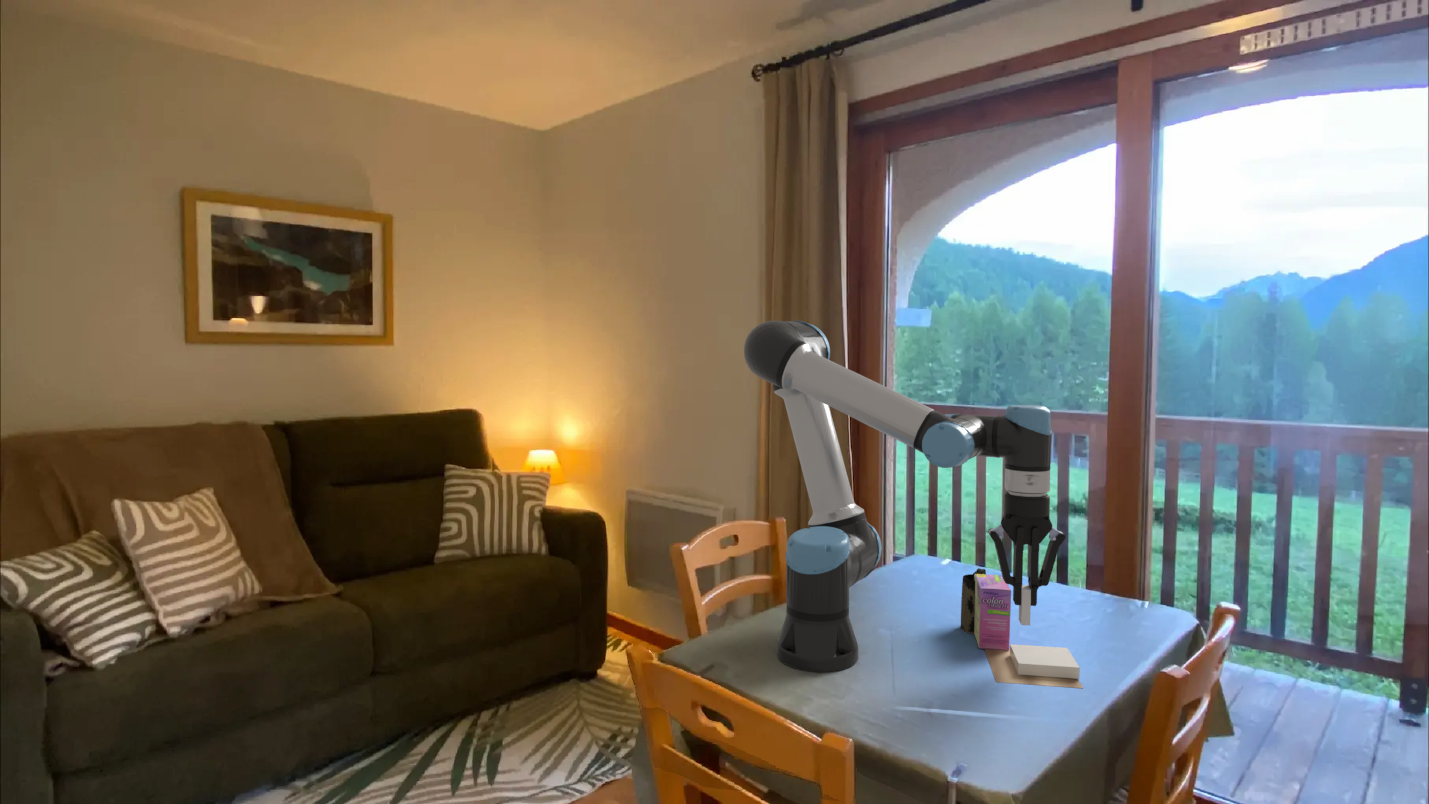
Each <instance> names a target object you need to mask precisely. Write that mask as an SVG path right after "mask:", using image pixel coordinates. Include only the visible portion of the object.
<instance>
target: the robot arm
mask: <svg viewBox="0 0 1429 804" xmlns="http://www.w3.org/2000/svg"><path fill="white" fill-rule="evenodd" d="M743 356H744V360H745V363H746V365H747V368H749V370H750V371H751V372H752V373H753V374H754V375H755V376H757V377H758V378H760V379H761V380H764V381H766V382H768V383H770V384H771V385H772V389H773V392H774V394H776V395H777V396H779V398H782V400H783V402H784V405H785V409H786V413H787V417H788V421H789V425H790V428H791V433H792V437H793V441H794V444H795V448H796V452H797V456H798V459H799V464H800V467H801V471H802V475H803V479H804V483H805V487H806V491H807V495H808V499H809V501H810V502H809V503H810V505H811V509H812V515H811V516H810V518H809V521H808V522H807V525H808V528H806V527H805V528H801V529H798V530H796V531H795V532H793V533H792V534H790V536H789V537H788V539H787V542H786V551H785V562H786V563H785V564H786V566H785V569H786V570H785V571H786V572H785V573H786V574H785V576H786V577H785V578H786V584H785V586H786V587H785V588H786V590H785V591H786V600H785V601H786V614H785V618H784V620H783V623H782V626H781V630H780V633H779V636H778V639H777V643H776V656H777V659H778V660H780V662H781V663H783V664H785V665H786V666H788V667H792V668H794V669H797V670H801V671H807V672H817V673H819V672H820V673H822V672H823V673H824V672H837V671H842V670H845V669H848V668H851V667H852V666H854V665H855V664H856V663H857V662H858V661H859V645H858V642H857V638H856V635H855V631H854V628H853V625H852V623H851V619H850V588H851V587H852V586H853V585H855V584H856V583H858V582H860V581H862V580H864V579H865V578H867V577H868V576H869V575H870V574H871V573H872V572H873V571H874V569H875V568H876V567H877V565H878V563H879V562H880V560H881V556H882V551H883V550H882V541H881V540H882V539H881V538H880V535H879V533H878V531H877V530H876V528H875V527H874V526H873V525H871V524H870V523H869V522H868V519H867V516H866V512H865V509H864V508H862V507H861V506H860V505H858V504H856V503H855V499H854V496H853V493H852V487H851V485H850V481H849V477H848V474H847V470H846V466H845V462H844V461H845V460H844V458H843V454H842V451H841V446H840V442H839V438H838V434H837V432H836V427H835V424H834V419H833V417H832V416H833V415H832V413H831V408H832V409H834V410H837V411H839V412H841V413H843V414H844V415H846V416H849V417H851V418H853V419H855V420H856V421H858V422H860V423H862V424H864V425H867V426H868V427H870V428H873V429H875V430H877V431H878V432H880V433H882V434H885V435H887V436H889V437H890V438H892V439H894V440H897V441H898V442H901V443H903V444H904V445H907V446H909V447H911V448H913V449H915V450H916V451H918V452H920V453H922V454H923V456H924V457H925V458H926V459H927V461H928V462H930V464H932V465H933V466H935V467H938V468H942V469H950V468H951V469H952V468H955V467H959V466H962V465H964V464H965V463H967V462H968V461H969V460H971V459H973V458H975V457H981V458H983V457H985V458H986V457H987V458H1004V462H1005V464H1004V468H1005V469H1004V489H1005V491H1006V492H1005V493H1004V498H1003V499H1004V500H1003V502H1004V503H1003V508H1004V509H1003V517H1002V519H1001V521H1000V524H999V525H998V526H996V527H995V528H992V527H991V528H989V529H988V530H987V533H988V535H989V536H990V538H991V540H992V541H993V543H994V547H995V551H996V552H995V553H996V557H997V560H998V563H999V564H998V565H999V569H1000V572H1001V576H1002V577H1003V579H1004V581H1005V583H1006V584H1008V585H1010V586H1012V589H1013V590H1012V601H1013V603H1014V605H1015V606H1018V621H1019V623H1020V624H1021V626H1031V608H1032V607H1037V604H1038V590H1039V588H1040V587H1043V586H1044V587H1046V586H1048V585H1049V583H1050V580H1051V577H1052V572H1053V570H1054V566H1055V562H1056V560H1057V555H1058V552H1059V548H1060V546H1061V545H1062V544H1063V543H1064V541H1065V540H1066V535H1065V533H1063V532H1062V531H1061V530H1058V529H1056V528H1054V527H1053V522H1052V521H1051V518H1050V511H1051V509H1050V508H1051V507H1050V506H1051V497H1050V495H1049V494H1047V493H1049V492H1050V491H1051V464H1052V462H1051V458H1052V437H1053V436H1052V435H1053V431H1052V416H1051V415H1052V414H1051V410H1050V409H1049V408H1048V407H1046V406H1043V405H1039V404H1038V405H1036V404H1034V405H1033V404H1032V405H1031V404H1014V405H1008V406H1007V407H1006V410H1005V413H1004V415H983V414H981V415H980V414H962V413H952V414H951V413H950V414H949V413H948V414H943V413H941V412H940V411H937V410H935V409H933V408H931V407H929V406H927V405H925V404H923V403H920V402H919V401H917V400H914V399H912V398H910V397H908V396H906V395H905V394H904V395H903V394H901V393H900V392H898V391H895V390H893V389H891V388H889V387H888V386H885V385H883V384H881V383H879V382H876V381H874V380H873V379H870V378H869V377H866V376H865V375H862V374H860V373H857V372H856V371H853V370H851V369H849V368H847V367H845V366H843V365H841V364H838V363H837V362H835V361H832V360H830V357H831V347H830V342H829V341H828V338H827V337H826V335H825V334H824V332H823V331H822V330H821V329H820V328H819V327H817V326H815V325H813V324H811V323H808V322H805V321H803V320H791V321H790V320H786V321H785V320H766V321H765V322H761V323H760V324H757V325H756V326H755V327H754V328H753V329H751V330H750V332H749V333H748V335H747V336H746V338H745V341H744V345H743ZM1004 532H1005V533H1006V534H1007V536H1008V538H1009V539H1010V540H1011V541H1012V546H1013V555H1012V556H1013V561H1012V563H1013V564H1012V567H1013V568H1012V575H1011V573H1010V567H1009V563H1008V561H1007V555H1006V551H1005V546H1004V543H1003V541H1002V540H1003V539H1004V538H1005V537H1004ZM1047 536H1048V539H1049V542H1048V544H1047V548H1046V552H1045V555H1044V557H1043V561H1042V566H1041V569H1040V573H1039V552H1040V544H1041V543H1042V541H1043V540H1044V539H1046V537H1047ZM1025 545H1027V546H1028V558H1027V559H1028V562H1027V563H1028V564H1027V565H1028V568H1027V569H1028V570H1027V573H1028V575H1027V583H1028V584H1023V576H1024V575H1023V571H1024V570H1023V569H1024V567H1023V566H1024V549H1025ZM1031 606H1032V607H1031Z"/></svg>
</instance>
